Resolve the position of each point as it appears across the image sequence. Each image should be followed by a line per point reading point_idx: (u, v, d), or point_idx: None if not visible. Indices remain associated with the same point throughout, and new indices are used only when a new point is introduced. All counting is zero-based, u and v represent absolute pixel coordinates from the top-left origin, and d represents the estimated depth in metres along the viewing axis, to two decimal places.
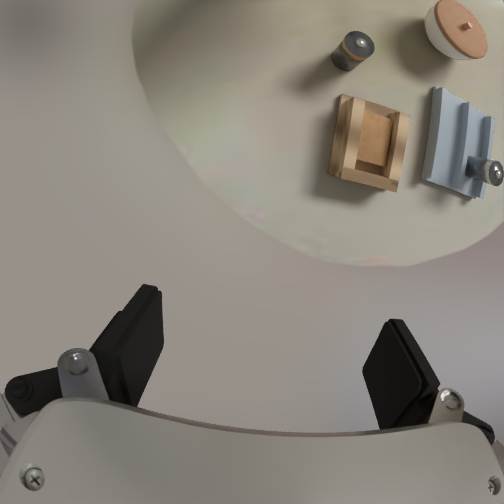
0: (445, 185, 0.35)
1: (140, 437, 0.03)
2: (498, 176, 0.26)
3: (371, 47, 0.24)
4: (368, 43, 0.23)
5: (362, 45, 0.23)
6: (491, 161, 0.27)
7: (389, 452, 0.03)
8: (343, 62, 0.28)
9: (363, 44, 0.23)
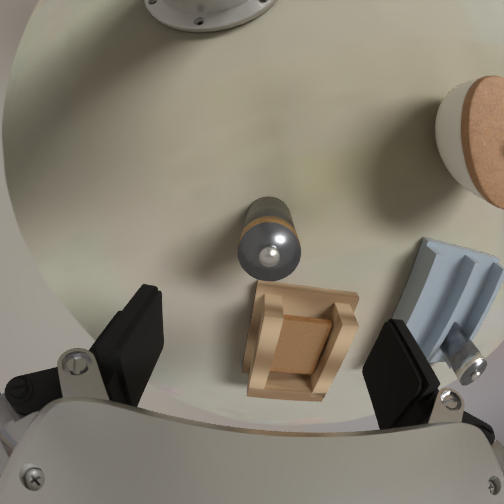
0: None
1: (140, 437, 0.03)
2: (474, 379, 0.20)
3: (294, 258, 0.17)
4: (288, 248, 0.16)
5: (270, 264, 0.16)
6: (471, 362, 0.20)
7: (389, 452, 0.03)
8: None
9: (273, 262, 0.16)
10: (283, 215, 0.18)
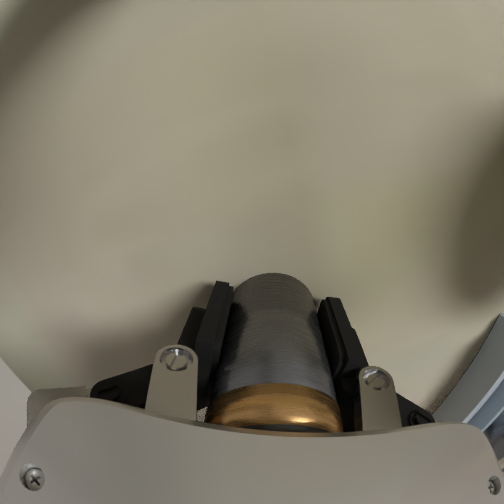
0: None
1: (140, 437, 0.03)
2: None
3: None
4: None
5: None
6: None
7: (389, 452, 0.03)
8: None
9: None
10: (309, 358, 0.07)
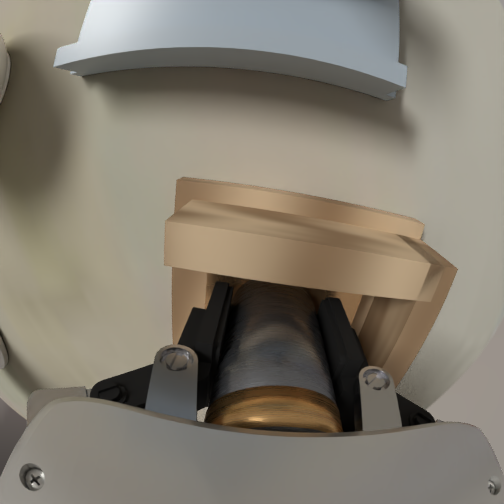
0: (394, 15, 0.08)
1: (140, 437, 0.03)
2: None
3: None
4: None
5: None
6: None
7: (389, 452, 0.03)
8: None
9: None
10: (309, 360, 0.07)
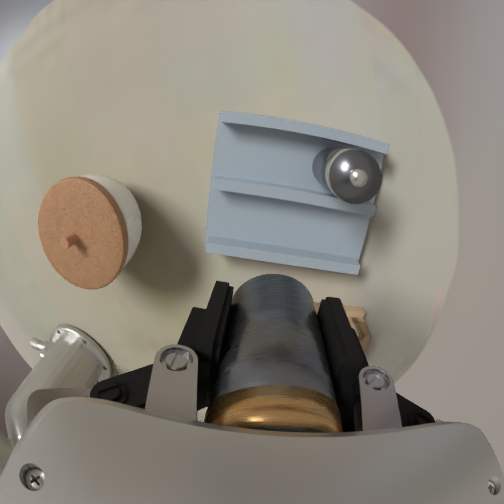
0: (366, 223, 0.26)
1: (140, 437, 0.03)
2: (364, 180, 0.17)
3: None
4: None
5: None
6: (332, 191, 0.18)
7: (389, 452, 0.03)
8: None
9: None
10: (309, 360, 0.07)
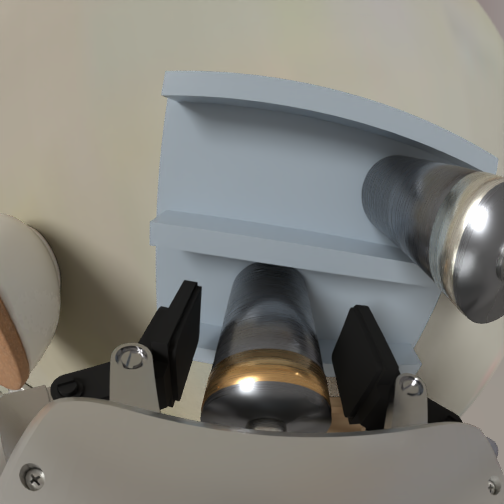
0: (438, 292, 0.13)
1: (140, 437, 0.03)
2: None
3: (316, 430, 0.07)
4: (306, 421, 0.07)
5: None
6: (448, 293, 0.05)
7: (389, 452, 0.03)
8: None
9: None
10: (299, 331, 0.08)
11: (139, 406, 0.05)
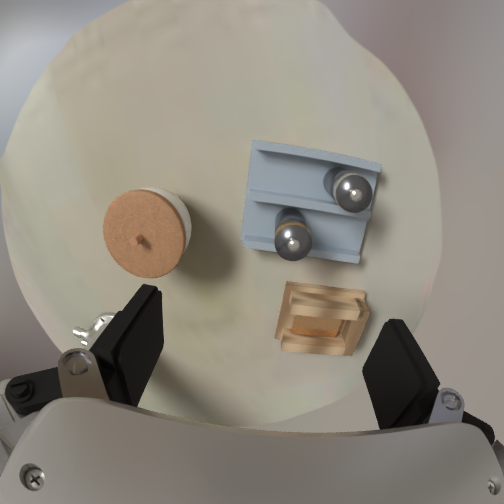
0: (364, 224, 0.34)
1: (140, 437, 0.03)
2: (359, 197, 0.25)
3: (308, 246, 0.28)
4: (304, 240, 0.27)
5: (294, 249, 0.27)
6: (338, 204, 0.26)
7: (389, 453, 0.03)
8: None
9: (296, 248, 0.27)
10: (301, 220, 0.29)
11: None
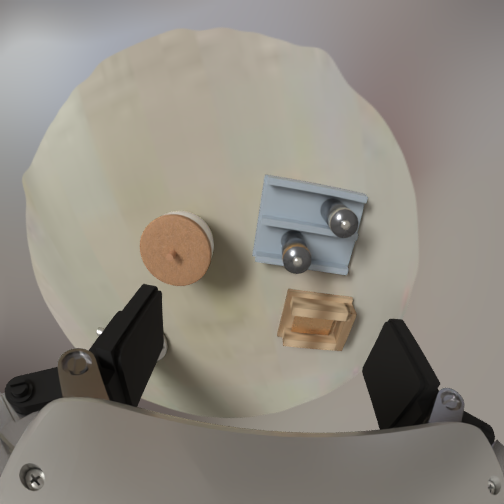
0: (352, 243, 0.43)
1: (140, 437, 0.03)
2: (348, 226, 0.33)
3: (308, 262, 0.36)
4: (305, 258, 0.36)
5: (298, 265, 0.36)
6: None
7: (389, 452, 0.03)
8: None
9: (299, 264, 0.36)
10: (303, 242, 0.38)
11: None
